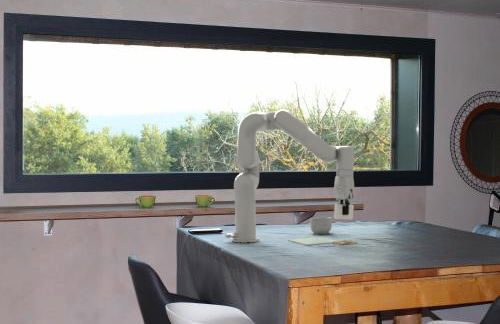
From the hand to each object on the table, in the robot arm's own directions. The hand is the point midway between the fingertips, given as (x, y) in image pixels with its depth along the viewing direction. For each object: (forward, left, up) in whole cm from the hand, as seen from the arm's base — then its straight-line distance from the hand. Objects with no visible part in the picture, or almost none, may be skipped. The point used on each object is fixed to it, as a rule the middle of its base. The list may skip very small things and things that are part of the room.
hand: (343, 214), depth 302 cm
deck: (0, 0, -2) cm, 2 cm away
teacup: (+10, +34, -13) cm, 38 cm away
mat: (-9, +12, -13) cm, 20 cm away
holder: (0, 0, -13) cm, 13 cm away
